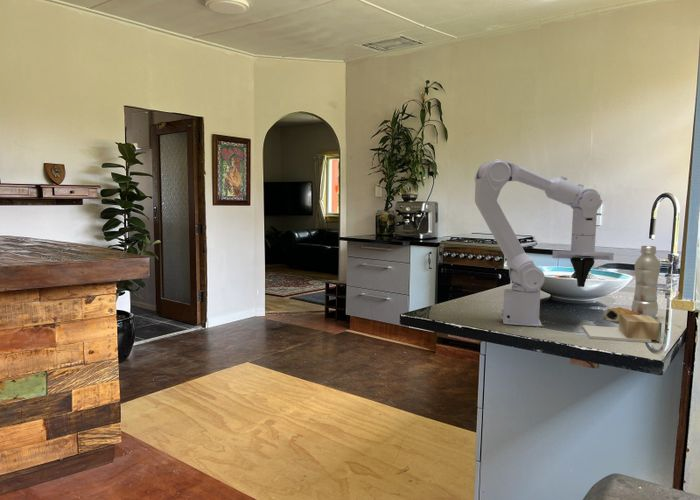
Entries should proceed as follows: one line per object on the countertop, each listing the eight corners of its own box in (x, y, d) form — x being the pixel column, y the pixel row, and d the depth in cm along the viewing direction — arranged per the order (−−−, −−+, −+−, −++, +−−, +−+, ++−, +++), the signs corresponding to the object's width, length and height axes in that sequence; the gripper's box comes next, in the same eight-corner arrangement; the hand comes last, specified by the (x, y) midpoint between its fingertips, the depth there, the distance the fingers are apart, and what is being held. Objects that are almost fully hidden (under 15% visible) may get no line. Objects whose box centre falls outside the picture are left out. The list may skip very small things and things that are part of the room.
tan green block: (628, 321, 120) (661, 323, 119) (619, 313, 128) (651, 315, 126) (626, 337, 121) (660, 340, 119) (618, 329, 128) (650, 331, 127)
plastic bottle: (653, 315, 148) (658, 245, 146) (660, 320, 141) (665, 247, 139) (628, 313, 149) (632, 245, 147) (634, 319, 143) (638, 247, 141)
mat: (590, 338, 122) (590, 335, 122) (582, 327, 133) (582, 325, 133) (651, 342, 119) (651, 340, 119) (638, 331, 129) (638, 328, 129)
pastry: (626, 317, 146) (627, 304, 146) (647, 322, 140) (648, 309, 139) (600, 319, 143) (601, 306, 143) (620, 325, 137) (621, 311, 136)
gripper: (555, 235, 133) (553, 287, 135) (617, 236, 130) (614, 290, 131) (552, 233, 140) (550, 283, 141) (611, 234, 136) (608, 285, 138)
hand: (580, 286), depth 137 cm, fingers closed
